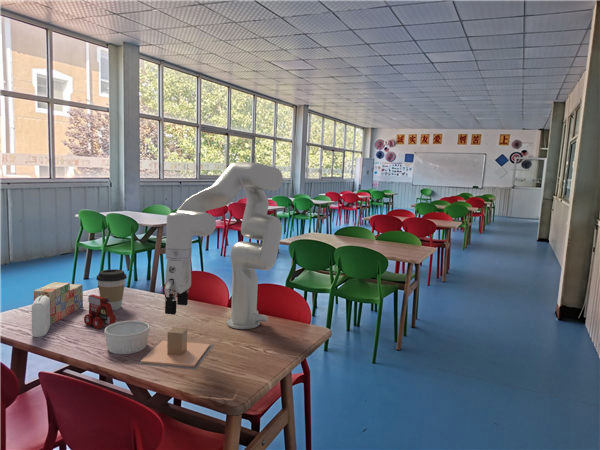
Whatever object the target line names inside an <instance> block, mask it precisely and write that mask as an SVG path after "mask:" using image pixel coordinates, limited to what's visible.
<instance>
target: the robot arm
mask: <svg viewBox="0 0 600 450" xmlns="http://www.w3.org/2000/svg"><path fill="white" fill-rule="evenodd" d="M283 177H284V176H283V174H282V171H281V170H280V169H279V168H277V167H276V166H271V165H267V164H262V163H259V162H258V163H257V162H243V161H238V162H233V163H230V164H229V165H228V167H226V169H225V170H223V172H222V173H221V174H220V175H219V177H218V178H217V179H216V180H215V181H214V182H213V184H211V185H210V186H209V187H207V188H205V189H203V190H201V191H198V192H197V193H195V194H193V195H191V196H190V197H189V198H187V199H186V200H185V201H184V202H183V203H181V205H180V206H179V207H178V208H177V210H176V211H175V212H171V213H168V214H167V217H166V228H165V229H166V233H165V235H166V236H165V260H167V261H166V268H165V279H164V280H165V281H164V314H165V315H177V305H178V306H187V305H188V304H189V303H188V302H189V289H190V288H191V286H192V263H191V260H192V250H193V249H192V247H193V237H194V236H195V237H207V236H209V235H212V234H213V233H214V231H215V230H216V228H217V220H216V218H215V217H214V216H213V215H212V214H211V213H208V211H211V210H214V209H219V208H222V207H225V206H228V205H230V204H231V203H232V202H233V201H234V199H236V197H237V196H238V194H239V193H240V192H241V190H242V189H244V193H245V195H246V204H245V209H244V212H243V217H242V221H241V226H240V233H241V235H242V236H243V237H244V238H245V239H250V240H257V241H262V242H261V243H258V242H253V241H243V240H242V241H238V242H236V243H234V244H233V245H232V246H231V249H230V264H231V271H232V273H231V274H232V275H231V276H232V281H231V308H230V309H231V311H230V317H229V318H227V320H226V324H227V325H226V326H228V327H230V328H233V329H237V330H250V329H255V328H257V327H259V326H260V325H261V322H262V323H263V322H264V323H268V319H269V317H268V316H266V314H259V310H258V309H257V307H258V306H257V305H258V284H259V281H258V279H259V278H258V274H257V271H256V270H259V271H269V270H271V269H272V268H273V267H274V265H276V264H275V263H276V261H277V258H278V253H279V248H280V243H281V239H282V233H283V226H282V222H281V220H280V219H279V218H278V217H277V216H274V215H268V210H269V206H270V205H269V199H268V196H267V195H266V193H265V191H277V190H278V189H280V187H282V184H283V182H284V181H283V180H284V179H283ZM264 190H265V191H264ZM176 299H177V300H176Z"/></svg>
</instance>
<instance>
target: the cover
mask: <svg viewBox="0 0 600 450" xmlns="http://www.w3.org/2000/svg"><path fill="white" fill-rule="evenodd" d="M160 341H161V342H160ZM160 341H159V342H160V343H159V342H158V343H159V344H158V343H157V344H158V345H157V344H156V345H157V346H156V345H155V346H156V347H155V348H154V349H153V350H152V351H151V352H149V351H148V352H149V353H148V352H147V353H148V354H147V353H146V354H147V355H146V354H145V355H146V356H145V355H144V356H145V357H144V356H143V357H144V358H143V357H142V358H143V359H142V358H141V359H142V360H141V363H149V364H160V365H172V366H184V367H195V365H196V364H197V363H198V361H199V360H200V359H201V357H202V356H203V355H204V353H205V352H206V351H207V349H208V348H209V347H210V345H211V344H209V343H200V342H188V327H178V326H177V327H175V326H173V327H172V328H171V329H169V330H168V331H167V340H160Z"/></svg>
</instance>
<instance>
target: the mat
mask: <svg viewBox="0 0 600 450" xmlns="http://www.w3.org/2000/svg"><path fill="white" fill-rule="evenodd" d="M161 341H162V340H159V342H157V344H155V345H154V346H153V347H152V348H151V349H150V350H149V351H148V352H147V353H146V354H145V355H143V357H142V358H140V359H139V360H138V361H137V362H136V363H135V365H141V366H153V367H165V368H174V369H175V368H177V369H188V370H189V369H191V370H197V369H198V368H199V366H200V365H201V363H202V362H203V361H204V359H205V358H206V356H207V355H209V353H210V351H211V350H212V348H213V347H214V345H215V344H210V347H209V348H208V349H207V351H206V352H205V353H204V355H203V356H202V357H201V359H200V360H199V361H198V363H197V364H196V365H195V367H184V366H172V365H160V364H149V363H141V360H142V359H143V358H144V357H145V356H146V355H147V354H148V353H149V352H151V351H152V350H153V349H154V348H155V347H156V346H157V345H158V344H159V343H160V342H161Z"/></svg>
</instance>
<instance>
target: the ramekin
mask: <svg viewBox="0 0 600 450" xmlns="http://www.w3.org/2000/svg"><path fill="white" fill-rule="evenodd" d="M150 329H151V328H150V325H149V323H147V322H145V321H143V320H124V321H123V320H121V321H116V322H115V323H114V324H111V325H107V326H106V327H105V328H104V332H103V334H104V336H105V343H106V344H105V345H106V348H107V350H108V352H110V353H111V354H114V355H129V354H130V355H131V354H135V353H140V351H142V350H145V348H146V347H147V345H148V340H149V339H148V338H149V332H150Z"/></svg>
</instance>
